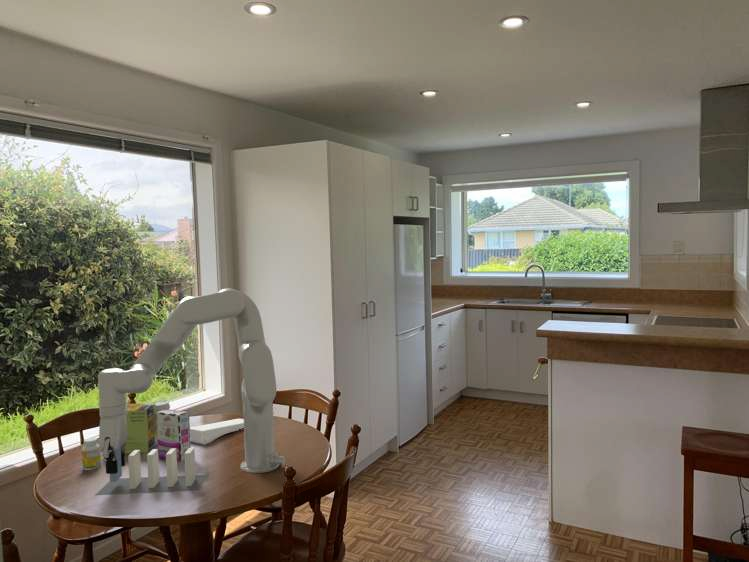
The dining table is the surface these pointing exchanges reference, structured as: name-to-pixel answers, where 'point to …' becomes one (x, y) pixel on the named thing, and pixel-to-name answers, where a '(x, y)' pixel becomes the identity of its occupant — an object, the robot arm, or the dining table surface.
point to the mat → (124, 488)
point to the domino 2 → (153, 468)
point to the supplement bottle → (91, 454)
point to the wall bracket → (214, 430)
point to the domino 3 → (171, 467)
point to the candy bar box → (173, 432)
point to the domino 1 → (134, 469)
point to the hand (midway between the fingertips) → (115, 469)
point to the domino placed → (118, 457)
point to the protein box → (141, 427)
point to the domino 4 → (190, 466)
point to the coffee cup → (161, 407)
